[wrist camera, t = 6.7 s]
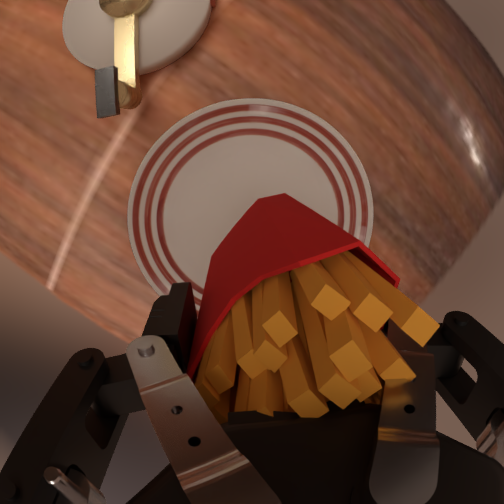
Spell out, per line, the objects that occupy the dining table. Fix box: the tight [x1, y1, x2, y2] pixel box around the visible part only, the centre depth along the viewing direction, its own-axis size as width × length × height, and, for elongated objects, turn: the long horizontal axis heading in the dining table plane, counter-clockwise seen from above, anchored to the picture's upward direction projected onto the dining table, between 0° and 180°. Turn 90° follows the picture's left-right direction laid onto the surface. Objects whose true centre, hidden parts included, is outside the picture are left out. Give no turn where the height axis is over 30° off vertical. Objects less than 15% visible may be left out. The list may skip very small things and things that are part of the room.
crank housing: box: [63, 0, 215, 75], centre depth 23 cm, size 16×16×4 cm
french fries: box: [187, 193, 440, 424], centre depth 12 cm, size 8×4×12 cm, turn 141°
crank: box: [95, 0, 153, 118], centre depth 20 cm, size 16×5×7 cm, turn 3°
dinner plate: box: [127, 98, 373, 319], centre depth 34 cm, size 28×27×3 cm
